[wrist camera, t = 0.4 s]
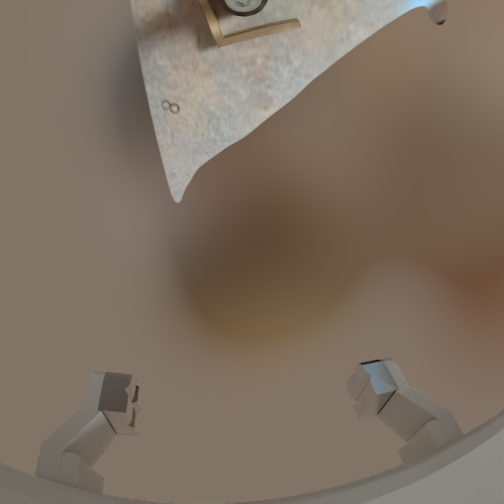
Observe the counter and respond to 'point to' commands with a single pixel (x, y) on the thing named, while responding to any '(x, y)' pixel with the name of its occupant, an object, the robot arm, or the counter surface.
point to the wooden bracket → (244, 34)
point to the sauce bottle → (243, 6)
